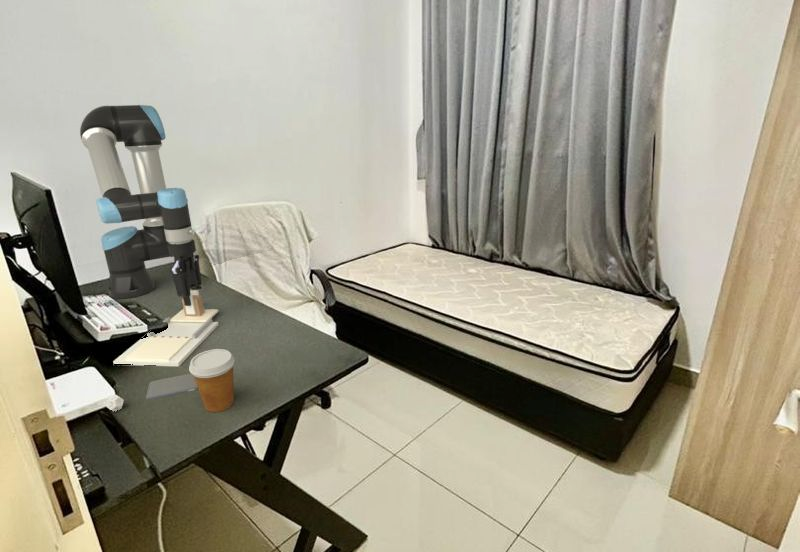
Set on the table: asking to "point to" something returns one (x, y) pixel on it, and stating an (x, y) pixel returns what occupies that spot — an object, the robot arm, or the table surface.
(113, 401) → the game die
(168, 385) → the smartphone
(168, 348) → the ticket board
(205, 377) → the disposable coffee cup
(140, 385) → the table surface
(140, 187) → the robot arm
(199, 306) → the tabbed cream panel
